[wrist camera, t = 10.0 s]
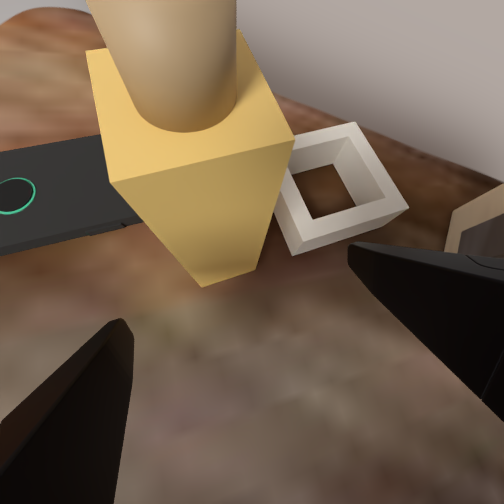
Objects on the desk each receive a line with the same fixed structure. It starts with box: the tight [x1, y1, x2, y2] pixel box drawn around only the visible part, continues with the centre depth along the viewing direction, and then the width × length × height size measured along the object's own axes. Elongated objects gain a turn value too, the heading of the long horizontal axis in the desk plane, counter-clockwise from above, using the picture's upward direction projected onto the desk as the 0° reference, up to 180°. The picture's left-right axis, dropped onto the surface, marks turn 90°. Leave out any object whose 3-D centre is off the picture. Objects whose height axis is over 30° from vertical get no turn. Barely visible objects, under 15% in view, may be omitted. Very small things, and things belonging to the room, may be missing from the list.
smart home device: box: [0, 134, 144, 256], centre depth 17 cm, size 8×2×20 cm
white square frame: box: [273, 122, 409, 256], centre depth 17 cm, size 8×8×3 cm
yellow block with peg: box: [86, 0, 295, 287], centre depth 10 cm, size 4×4×14 cm
